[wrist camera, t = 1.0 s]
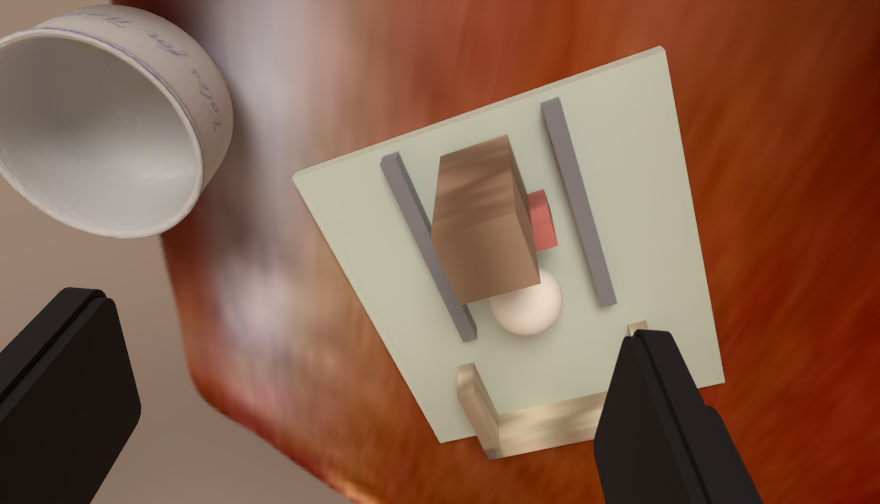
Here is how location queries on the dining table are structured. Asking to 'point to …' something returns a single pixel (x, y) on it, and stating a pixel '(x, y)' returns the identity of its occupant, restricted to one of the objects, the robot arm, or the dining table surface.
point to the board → (571, 262)
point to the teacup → (111, 120)
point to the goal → (528, 417)
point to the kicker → (488, 222)
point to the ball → (529, 306)
